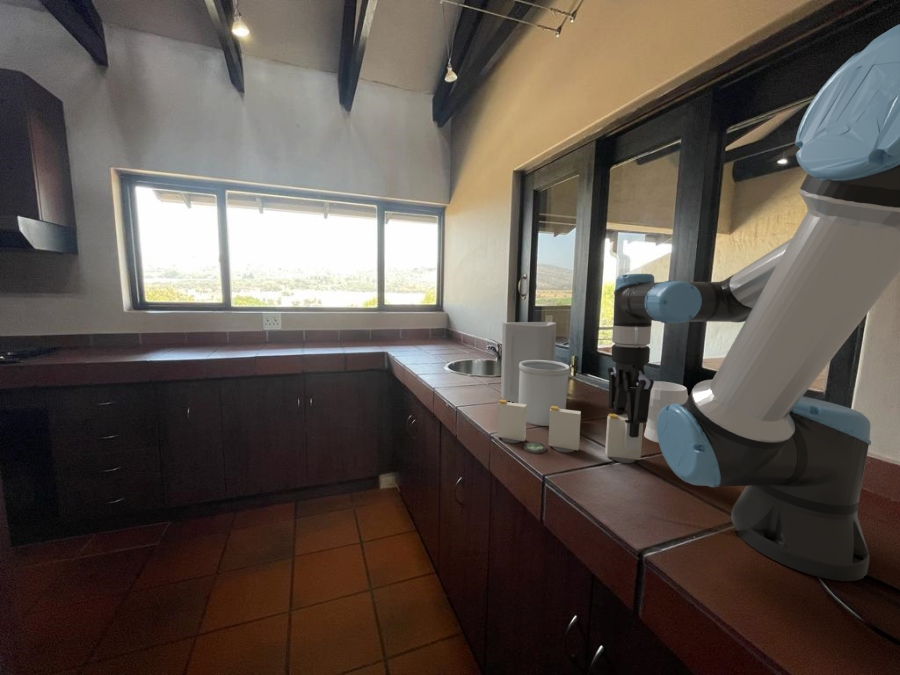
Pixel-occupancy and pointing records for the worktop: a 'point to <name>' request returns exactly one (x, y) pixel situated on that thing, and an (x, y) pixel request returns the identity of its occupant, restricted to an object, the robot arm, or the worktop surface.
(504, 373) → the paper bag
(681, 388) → the cup
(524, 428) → the cream slab
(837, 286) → the robot arm
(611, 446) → the slab with yellow pad
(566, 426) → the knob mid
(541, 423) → the utensil holder
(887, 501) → the worktop surface
